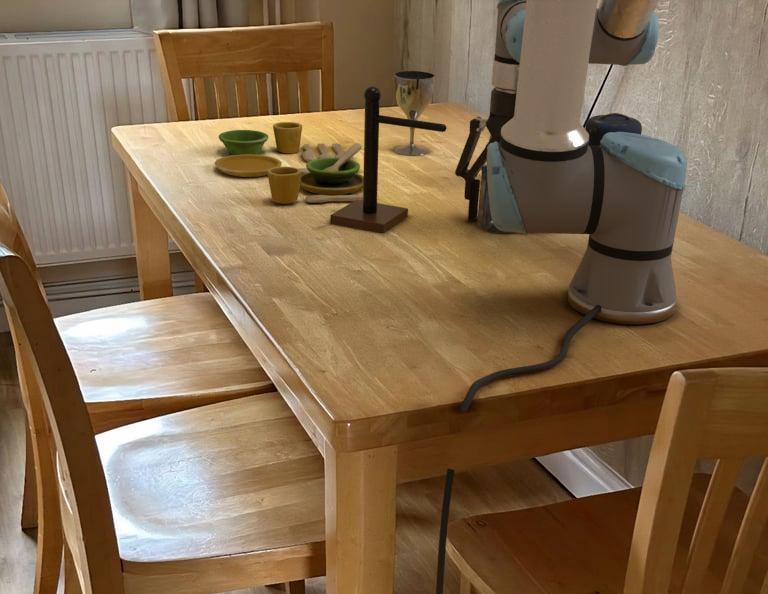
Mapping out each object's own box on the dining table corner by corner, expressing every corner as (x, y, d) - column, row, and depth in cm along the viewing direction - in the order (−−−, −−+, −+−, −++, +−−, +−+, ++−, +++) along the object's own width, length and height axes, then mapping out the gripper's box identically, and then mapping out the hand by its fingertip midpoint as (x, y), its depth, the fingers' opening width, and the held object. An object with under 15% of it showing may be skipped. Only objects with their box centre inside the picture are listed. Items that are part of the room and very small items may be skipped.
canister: (627, 230, 181) (645, 121, 171) (572, 225, 182) (586, 117, 173) (628, 213, 189) (644, 109, 179) (574, 208, 190) (588, 104, 181)
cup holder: (428, 241, 173) (435, 102, 161) (330, 223, 179) (330, 88, 167) (451, 224, 181) (459, 90, 169) (356, 207, 187) (358, 77, 175)
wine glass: (406, 143, 225) (409, 69, 217) (437, 150, 221) (442, 74, 213) (384, 151, 219) (387, 75, 211) (416, 158, 215) (419, 80, 207)
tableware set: (377, 205, 188) (378, 169, 185) (220, 209, 184) (218, 172, 181) (344, 144, 223) (344, 113, 219) (211, 146, 218) (209, 115, 215)
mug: (487, 214, 186) (492, 160, 181) (534, 222, 183) (540, 167, 178) (460, 236, 176) (464, 178, 171) (509, 244, 173) (514, 186, 168)
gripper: (591, 93, 168) (573, 228, 180) (457, 76, 176) (449, 207, 188) (577, 102, 162) (560, 241, 174) (440, 84, 170) (432, 219, 182)
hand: (502, 224), depth 181 cm, fingers open, 10 cm apart
